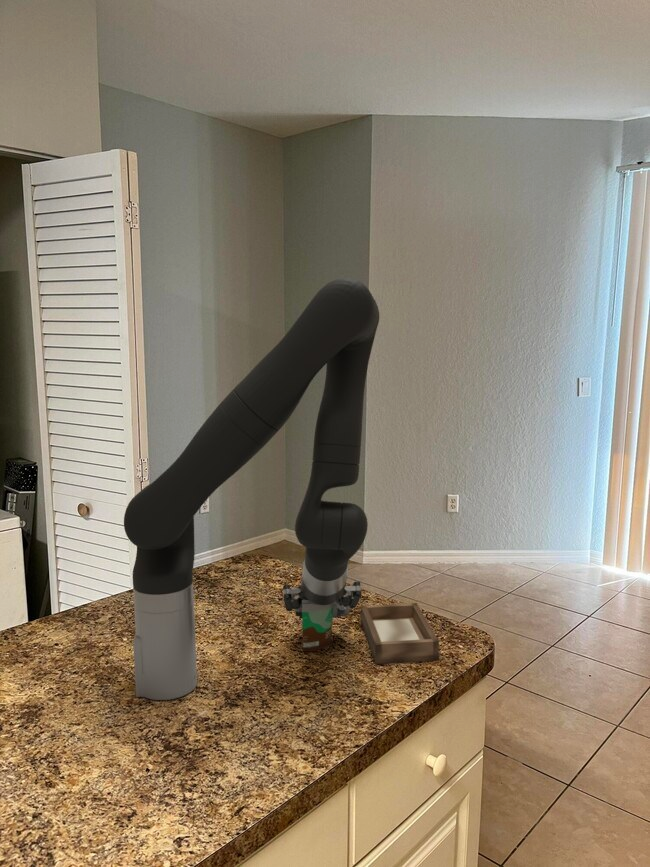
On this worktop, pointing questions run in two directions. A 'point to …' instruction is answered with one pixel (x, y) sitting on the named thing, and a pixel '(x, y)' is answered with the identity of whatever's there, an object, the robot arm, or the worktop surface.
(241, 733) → the worktop surface
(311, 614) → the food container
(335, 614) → the grey domed puck
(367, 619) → the tray
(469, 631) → the worktop surface
